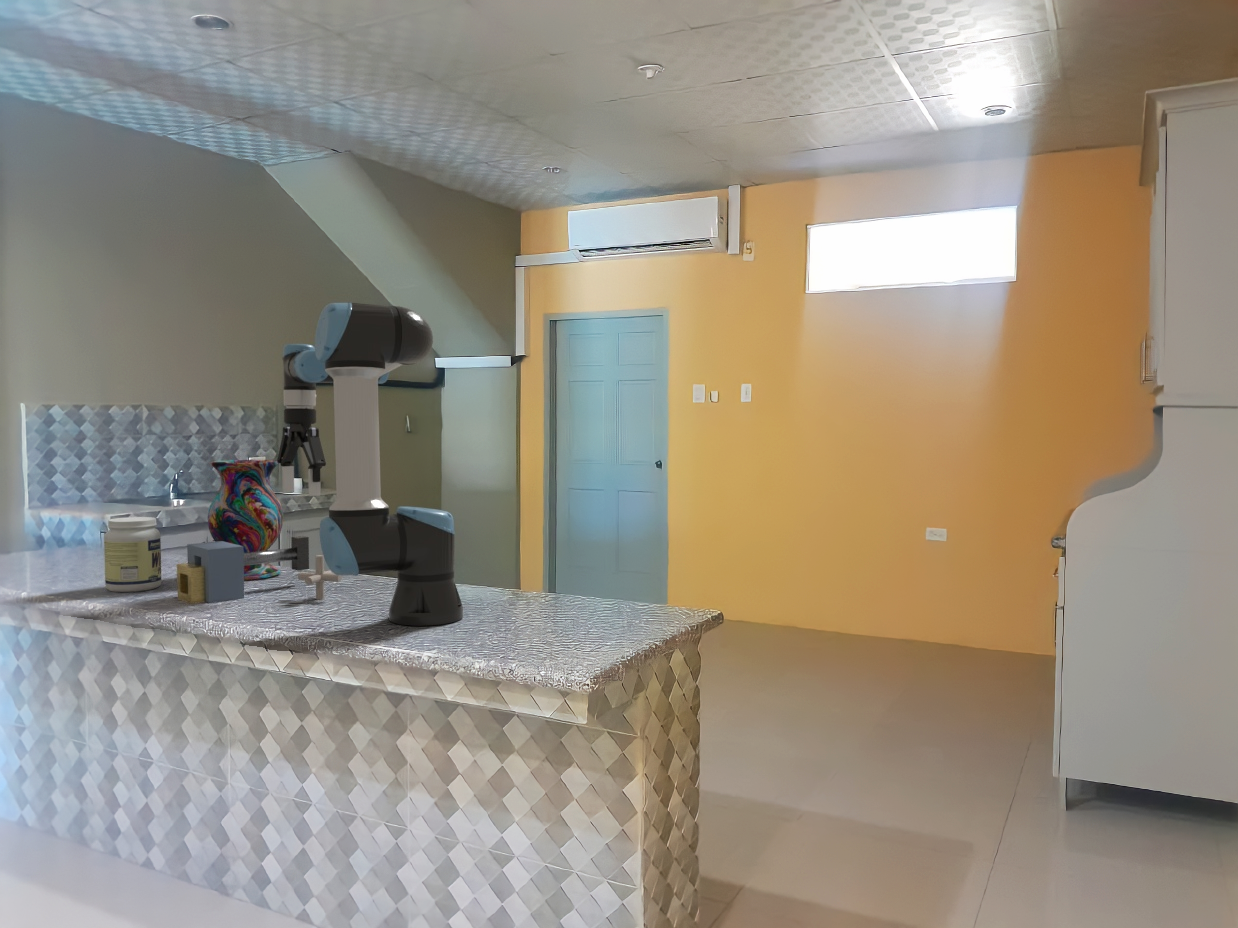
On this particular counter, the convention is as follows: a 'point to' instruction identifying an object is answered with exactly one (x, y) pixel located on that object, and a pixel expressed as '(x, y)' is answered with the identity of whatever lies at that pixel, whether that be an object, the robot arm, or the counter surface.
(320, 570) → the pipe connector
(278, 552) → the shaft
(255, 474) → the vase
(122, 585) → the supplement tub
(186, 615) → the counter surface
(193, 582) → the block
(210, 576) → the pillow block
